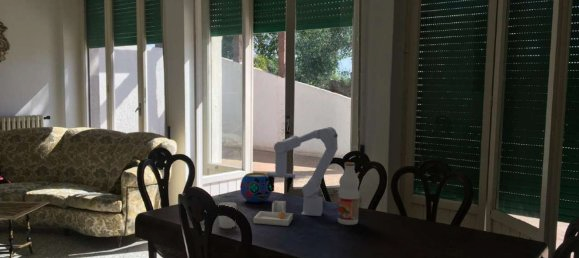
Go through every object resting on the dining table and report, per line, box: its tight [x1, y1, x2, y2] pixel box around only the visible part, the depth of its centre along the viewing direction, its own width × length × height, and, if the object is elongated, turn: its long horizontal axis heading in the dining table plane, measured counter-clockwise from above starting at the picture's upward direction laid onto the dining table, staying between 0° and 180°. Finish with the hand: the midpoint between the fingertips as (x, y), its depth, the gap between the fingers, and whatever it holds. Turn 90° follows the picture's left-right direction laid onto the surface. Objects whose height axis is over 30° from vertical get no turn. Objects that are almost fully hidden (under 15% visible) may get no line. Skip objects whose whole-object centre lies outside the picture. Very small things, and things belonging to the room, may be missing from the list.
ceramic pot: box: [239, 172, 272, 203], centre depth 252 cm, size 18×18×15 cm
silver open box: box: [271, 200, 287, 213], centre depth 228 cm, size 6×6×6 cm
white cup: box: [218, 201, 237, 229], centre depth 205 cm, size 8×8×10 cm
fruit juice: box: [337, 161, 360, 226], centre depth 215 cm, size 9×9×28 cm
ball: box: [279, 212, 286, 218], centre depth 219 cm, size 3×3×3 cm
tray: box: [253, 210, 294, 227], centre depth 216 cm, size 16×12×2 cm
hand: (280, 191), depth 235 cm, fingers open, 7 cm apart
